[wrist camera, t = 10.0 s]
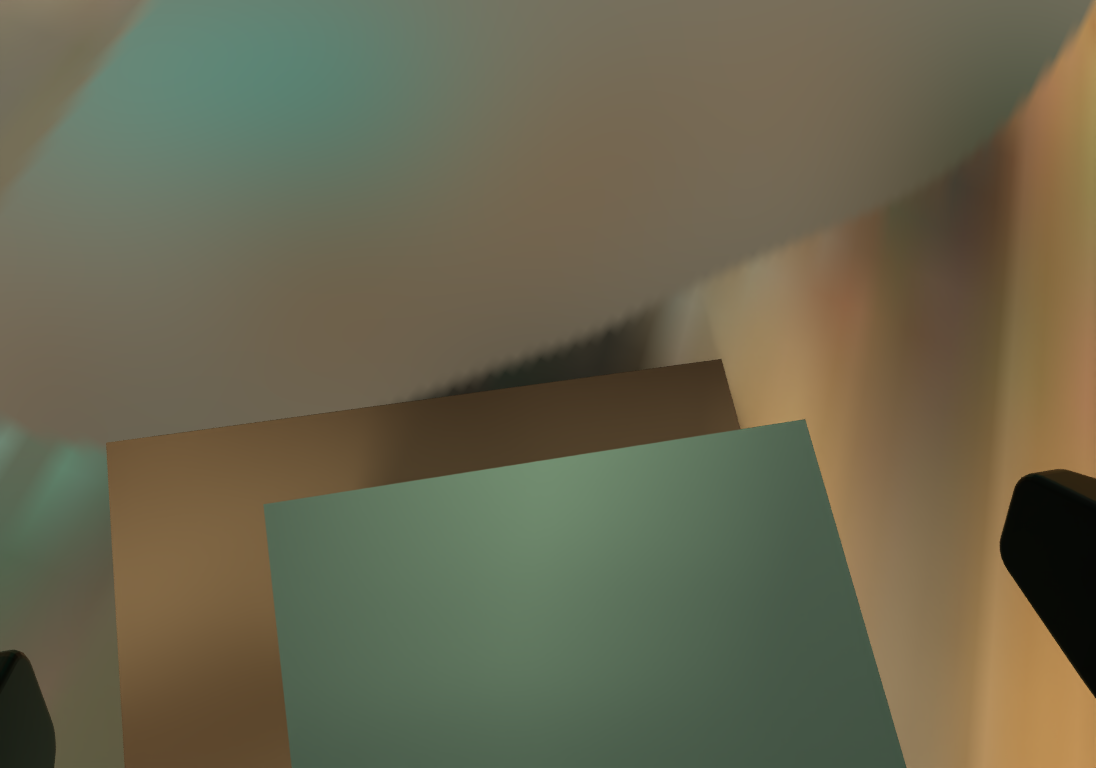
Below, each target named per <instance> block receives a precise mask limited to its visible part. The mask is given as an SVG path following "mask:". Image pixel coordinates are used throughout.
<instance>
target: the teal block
mask: <svg viewBox="0 0 1096 768" xmlns="http://www.w3.org/2000/svg"><path fill="white" fill-rule="evenodd" d="M263 506H264V515H265V524H266V533H267V543H268V552H269V561H270V571H271V580H272V589H273V599H274V608H275V617H276V626H277V636H278V645H279V654H280V664H281V673H282V682H283V692H284V701H285V710H286V719H287V729H288V738H289V747H290V757H291V766H292V768H906V765H905V761H904V758H903V754H902V751H901V747H900V744H899V740H898V737H897V734H896V730H895V727H894V723H893V720H892V716H891V713H890V710H889V706H888V703H887V699H886V696H885V692H884V689H883V685H882V682H881V679H880V675H879V672H878V668H877V665H876V661H875V658H874V655H873V651H872V648H871V644H870V641H869V637H868V634H867V630H866V627H865V624H864V620H863V617H862V613H861V610H860V606H859V603H858V599H857V596H856V593H855V589H854V586H853V582H852V579H851V575H850V572H849V569H848V565H847V562H846V558H845V555H844V551H843V548H842V544H841V541H840V538H839V534H838V531H837V527H836V524H835V520H834V517H833V514H832V510H831V507H830V503H829V500H828V496H827V493H826V489H825V486H824V483H823V479H822V476H821V472H820V469H819V465H818V462H817V458H816V455H815V452H814V448H813V445H812V441H811V438H810V434H809V431H808V428H807V424H806V421H805V419H804V420H797V421H791V422H785V423H778V424H772V425H766V426H759V427H753V428H746V429H740V430H734V431H727V432H721V433H715V434H708V435H702V436H696V437H689V438H683V439H676V440H670V441H664V442H657V443H651V444H645V445H638V446H632V447H625V448H619V449H613V450H606V451H600V452H594V453H587V454H581V455H574V456H568V457H562V458H555V459H549V460H543V461H536V462H530V463H524V464H517V465H511V466H504V467H498V468H492V469H485V470H479V471H473V472H466V473H460V474H453V475H447V476H441V477H434V478H428V479H422V480H415V481H409V482H403V483H396V484H390V485H383V486H377V487H371V488H364V489H358V490H352V491H345V492H339V493H332V494H326V495H320V496H313V497H307V498H301V499H294V500H288V501H281V502H275V503H269V504H263Z"/></svg>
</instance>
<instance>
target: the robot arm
mask: <svg viewBox="0 0 1096 768" xmlns="http://www.w3.org/2000/svg"><path fill="white" fill-rule="evenodd" d="M1000 553H1001V558H1002V560H1003V563H1004V565H1005V567H1006V568H1007V570H1008V571H1009V573H1010V574H1011V576H1012V577H1013V579H1014V580H1015V582H1016V583H1017V585H1018V586H1019V588H1020V589H1021V591H1022V592H1023V593H1024V595H1025V596H1026V598H1027V599H1028V601H1029V602H1030V604H1031V605H1032V607H1033V608H1034V610H1035V611H1036V613H1037V614H1038V616H1039V617H1040V618H1041V620H1042V621H1043V623H1044V624H1045V626H1046V627H1047V629H1048V630H1049V632H1050V633H1051V635H1052V636H1053V638H1054V639H1055V641H1056V642H1057V643H1058V645H1059V646H1060V648H1061V649H1062V651H1063V652H1064V654H1065V655H1066V657H1067V658H1068V660H1069V661H1070V663H1071V664H1072V666H1073V667H1074V668H1075V670H1076V671H1077V673H1078V674H1079V676H1080V677H1081V679H1082V680H1083V681H1084V683H1085V684H1086V686H1087V687H1088V688H1089V690H1090V691H1091V693H1092V694H1093V695H1094V697H1095V698H1096V479H1095V478H1092V477H1089V476H1086V475H1082V474H1079V473H1076V472H1073V471H1069V470H1064V469H1055V470H1049V471H1043V472H1037V473H1031V474H1028V475H1025V476H1024V477H1022V478H1021V479H1020V480H1019V481H1018V482H1017V484H1016V486H1015V488H1014V491H1013V495H1012V498H1011V502H1010V506H1009V509H1008V513H1007V516H1006V520H1005V524H1004V527H1003V531H1002V535H1001V538H1000ZM55 753H56V741H55V732H54V727H53V723H52V720H51V717H50V715H49V712H48V709H47V706H46V704H45V701H44V698H43V695H42V693H41V690H40V687H39V684H38V682H37V679H36V676H35V674H34V671H33V668H32V665H31V663H30V661H29V659H28V658H27V657H26V656H25V654H24V653H22V652H20V651H17V650H8V651H2V652H0V768H54V763H55Z"/></svg>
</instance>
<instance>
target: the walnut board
mask: <svg viewBox="0 0 1096 768" xmlns="http://www.w3.org/2000/svg"><path fill="white" fill-rule="evenodd" d="M734 430H740V426H739V423H738V419H737V415H736V412H735V408H734V404H733V400H732V397H731V393H730V389H729V386H728V382H727V378H726V375H725V371H724V367H723V363H722V360H721V359H718V360H711V361H704V362H696V363H689V364H682V365H674V366H667V367H660V368H652V369H645V370H638V371H630V372H623V373H615V374H608V375H601V376H593V377H586V378H579V379H571V380H564V381H557V382H549V383H542V384H535V385H527V386H520V387H513V388H505V389H498V390H491V391H483V392H476V393H469V394H461V395H454V396H446V397H439V398H432V399H424V400H417V401H410V402H402V403H395V404H388V405H380V406H373V407H366V408H358V409H351V410H344V411H336V412H329V413H322V414H314V415H307V416H301V417H292V418H285V419H277V420H270V421H263V422H255V423H248V424H241V425H234V426H226V427H219V428H212V429H204V430H197V431H190V432H182V433H175V434H167V435H160V436H153V437H146V438H138V439H131V440H123V441H116V442H108V443H106V448H107V465H108V483H109V500H110V517H111V535H112V552H113V570H114V587H115V605H116V622H117V640H118V657H119V675H120V692H121V710H122V727H123V745H124V762H125V768H292V766H291V757H290V747H289V738H288V729H287V719H286V710H285V701H284V692H283V682H282V673H281V664H280V654H279V645H278V636H277V626H276V617H275V608H274V599H273V589H272V580H271V571H270V561H269V552H268V543H267V533H266V524H265V515H264V506H263V504H269V503H275V502H281V501H288V500H294V499H301V498H307V497H313V496H320V495H326V494H332V493H339V492H345V491H352V490H358V489H364V488H371V487H377V486H383V485H390V484H396V483H403V482H409V481H415V480H422V479H428V478H434V477H441V476H447V475H453V474H460V473H466V472H473V471H479V470H485V469H492V468H498V467H504V466H511V465H517V464H524V463H530V462H536V461H543V460H549V459H555V458H562V457H568V456H574V455H581V454H587V453H594V452H600V451H606V450H613V449H619V448H625V447H632V446H638V445H645V444H651V443H657V442H664V441H670V440H676V439H683V438H689V437H696V436H702V435H708V434H715V433H721V432H727V431H734Z"/></svg>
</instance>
